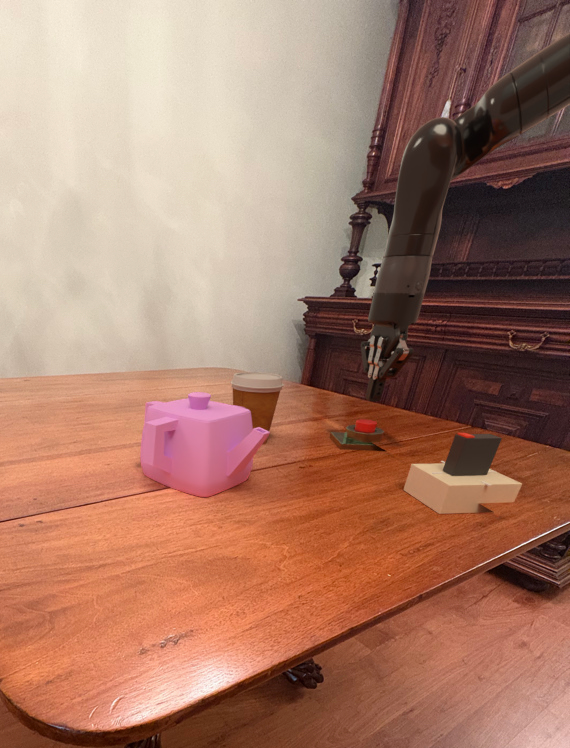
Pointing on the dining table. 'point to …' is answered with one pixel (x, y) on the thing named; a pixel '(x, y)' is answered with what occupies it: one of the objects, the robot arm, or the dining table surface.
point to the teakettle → (198, 444)
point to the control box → (458, 489)
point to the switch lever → (471, 454)
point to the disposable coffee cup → (257, 396)
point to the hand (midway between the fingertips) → (372, 400)
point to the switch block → (357, 439)
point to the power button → (365, 425)
